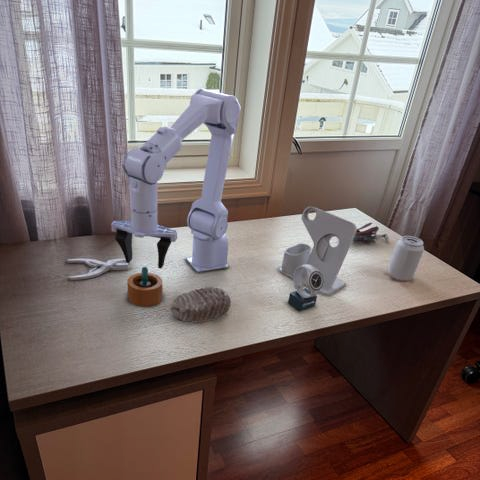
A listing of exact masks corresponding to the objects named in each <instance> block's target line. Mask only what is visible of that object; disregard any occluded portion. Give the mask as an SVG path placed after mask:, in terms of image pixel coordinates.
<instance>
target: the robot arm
mask: <svg viewBox="0 0 480 480" xmlns="http://www.w3.org/2000/svg"><path fill="white" fill-rule="evenodd" d="M241 109H242V108H241V105H240V103H239V100H238V98H237V97H236V96H235V95H232V94H225V93H222V92H217V91H213V90H209V89H206V88H203V87H201V88H198V89H197V90H196V91H195V92H194V93H193V94H192V95H191V96H190V100H189V105H188V106H187V108H185V110H184V111H183V112H182V113H181V115H180V116H178V118H177V119H176V120H175V121H174V122H173V124H172V125H171V126H170V127H168V126H162V127H158V129H156V131H155V133H154V134H153V135H152V136H151V137H150V138H149V139H148V140H147V141H146V142H144V143H143V144H142V146H140V147H139V148H132V149H131V150H129V151H128V152H127V153H126V154H125V156H124V159H123V163H122V164H121V168H122V171H123V173H124V174H125V175H126V181H127V184H128V186H129V204H130V205H129V207H130V208H129V209H130V221H129V220H128V221H127V220H113V222H111V224H110V226H111V232H113V233H116V234H115V235H114V239H115V242H116V243H117V244H118V246H119V247H120V249H121V251H122V253H123V257H124V258H125V259H126V263H128V264H130V263H131V261H132V260H133V235H134V237H136V238H140V239H141V238H142V239H143V238H145V237H151V238H156V239H159V240H158V241H157V243H156V248H157V256H158V257H157V258H158V259H157V267H158V269H162V268H163V267H164V265H165V260H166V257H167V253H168V250H169V248H170V246H171V244H172V242H173V243H175V242H177V239H178V230H175V229H171V228H169V227H165V226H163V225H160V224H158V182H159V181H160V180H161V179H162V178H163V175H164V172H165V169H166V168H167V165H168V163H169V162H170V161H171V160H172V159H173V158H174V157H175V156H176V155H177V154H178V153H179V152H180V151H181V150H182V148H183V147H182V146H183V140H184V139H186V138H187V137H188V136H189V135H190V134H192V133H193V132H194V131H195V130H197V128H199V127H201V125H205V126H206V127H207V129H208V131H209V133H210V135H211V136H210V143H209V147H208V148H209V149H208V153H207V159H206V164H205V165H206V166H205V170H204V176H203V177H204V178H203V182H202V189H201V195H200V198H198V199H197V200H195V201H193V202H192V203H191V208H190V211H189V213H188V215H187V218H186V224H187V227H188V228H189V229H190V233H191V234H192V236H193V237H192V250H191V251H192V252H191V256H189V257H186V261H187V262H188V263H189V265H191V267H192V268H193V269H194V270H195V272H196V273H203V272H208V271H214V270H220V269H226V268H228V264H227V263H228V254H229V239H228V237H227V234H226V233H227V231H228V226H229V223H228V217H229V216H228V215H229V211H228V209H227V208H226V206H225V205H224V204H223V203H222V198H223V197H222V196H223V191H224V186H225V181H226V177H227V172H228V166H229V161H230V156H231V151H232V145H233V140H234V135H235V134H236V133H237V130H238V126H239V125H238V124H239V120H240V115H241Z"/></svg>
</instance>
